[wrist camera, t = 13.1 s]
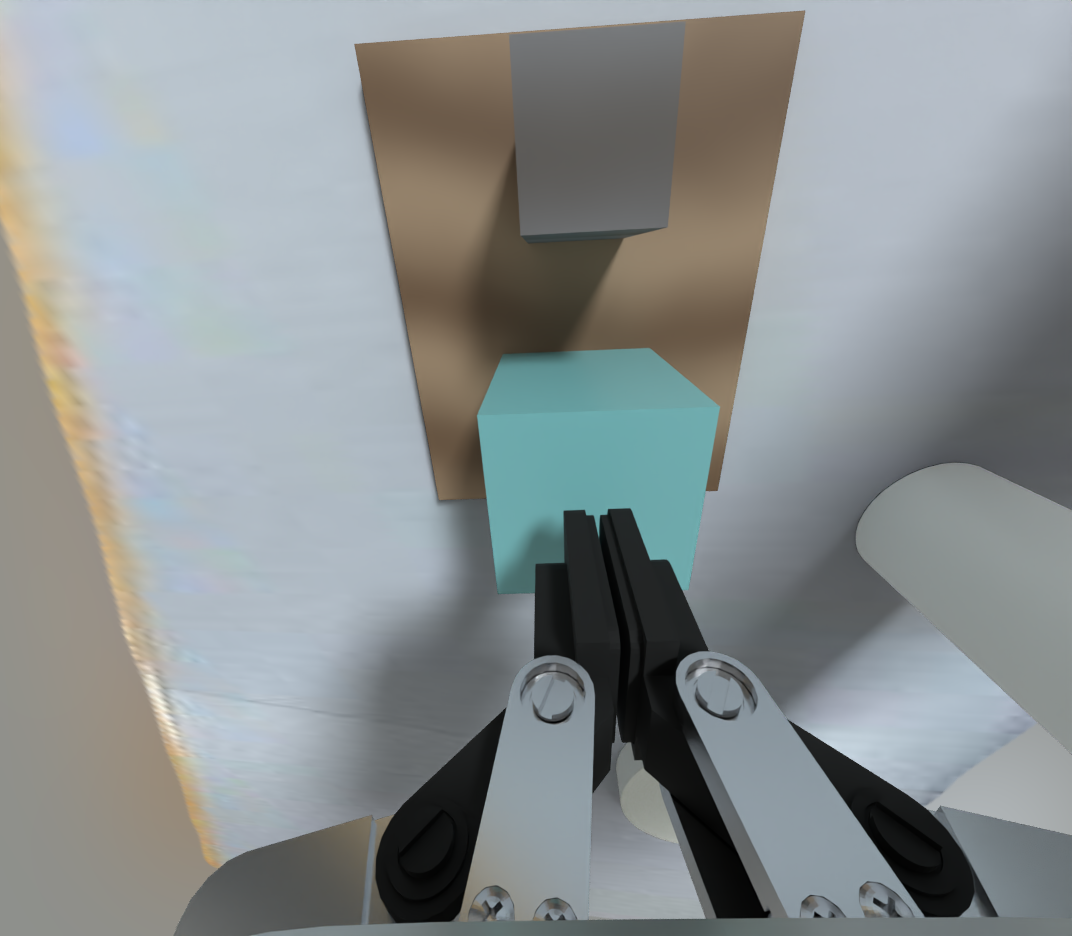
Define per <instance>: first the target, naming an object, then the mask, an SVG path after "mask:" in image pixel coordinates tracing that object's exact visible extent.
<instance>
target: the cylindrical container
mask: <svg viewBox="0 0 1072 936" xmlns="http://www.w3.org/2000/svg"><path fill="white" fill-rule="evenodd" d="M856 546H857V550H858V552H859V554H860V555H861V557H862V558H863V559H864V560H865V561H866V562H867V563H868V564H869V565H870V566H871V567H872V568H873V569H874V570H875V571H876V572H877V573H878V574H880V575H881V576H882V577H883V578H884V579H885V580H886V581H887V582H888V583H889V584H890V585H891V586H892V587H893V588H894V589H896V590H897V591H898V592H899V593H900V594H901V595H902V596H903V597H904V598H905V599H906V600H907V601H908V602H909V603H910V604H911V605H913V606H914V607H915V608H916V609H917V610H918V611H919V612H920V613H921V614H922V615H923V616H924V617H925V618H926V619H927V620H929V621H930V622H931V623H932V624H933V625H934V626H935V627H936V628H937V629H938V630H939V631H940V632H941V633H942V634H943V635H945V636H946V637H947V638H948V639H949V640H950V641H951V642H952V643H953V644H954V645H955V646H956V647H957V648H958V649H959V650H961V651H962V652H963V653H964V654H965V655H966V656H967V657H968V658H969V659H970V660H971V661H972V662H973V663H974V664H975V665H976V666H978V667H979V668H980V669H981V670H982V671H983V672H984V673H985V674H986V675H987V676H988V677H989V678H990V679H991V680H992V681H994V682H995V683H996V684H997V685H998V686H999V687H1000V688H1001V689H1002V690H1003V691H1004V692H1005V693H1006V694H1007V695H1008V696H1010V697H1011V698H1012V699H1013V700H1014V701H1015V702H1016V703H1017V704H1018V705H1019V706H1020V707H1021V708H1022V709H1023V710H1024V711H1025V712H1027V713H1028V714H1029V715H1030V716H1031V717H1032V718H1033V719H1034V720H1035V721H1036V722H1037V723H1038V724H1039V725H1040V726H1042V727H1043V728H1044V729H1045V730H1046V731H1047V732H1048V733H1049V734H1050V735H1051V736H1052V737H1053V738H1054V739H1055V740H1057V742H1059V743H1060V744H1061V745H1062V746H1063V747H1064V748H1065V749H1066V750H1067V751H1068V752H1069V753H1070V754H1071V755H1072V510H1070V509H1068V508H1066V507H1064V506H1062V505H1060V504H1057V503H1055V502H1053V501H1051V500H1049V499H1047V498H1045V497H1043V496H1041V495H1039V494H1036V493H1034V492H1032V491H1030V490H1028V489H1026V488H1024V487H1022V486H1020V485H1017V484H1015V483H1013V482H1011V481H1009V480H1007V479H1005V478H1003V477H1001V476H998V475H996V474H994V473H992V472H990V471H988V470H986V469H984V468H982V467H980V466H976V465H972V464H968V463H946V464H939V465H935V466H931V467H927V468H924V469H921V470H919V471H916V472H914V473H911V474H909V475H907V476H905V477H904V478H902V479H900V480H898V481H896V482H895V483H893V484H892V485H891V486H889V487H888V488H887V489H885V490H884V491H883V492H882V493H881V494H880V495H879V496H878V497H876V498H875V499H874V500H873V501H872V502H871V504H870V505H869V506H868V508H867V509H866V510H865V512H864V513H863V515H862V517H861V519H860V521H859V523H858V527H857V530H856Z"/></svg>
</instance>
